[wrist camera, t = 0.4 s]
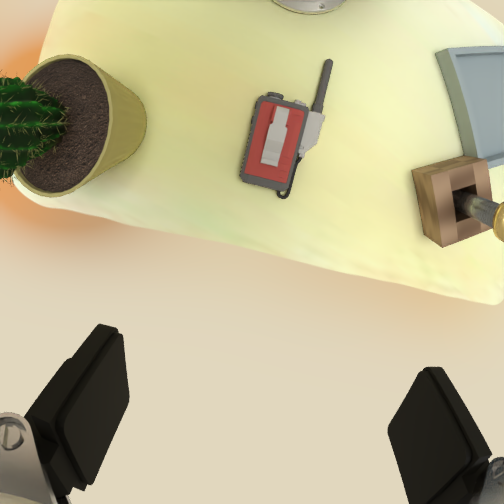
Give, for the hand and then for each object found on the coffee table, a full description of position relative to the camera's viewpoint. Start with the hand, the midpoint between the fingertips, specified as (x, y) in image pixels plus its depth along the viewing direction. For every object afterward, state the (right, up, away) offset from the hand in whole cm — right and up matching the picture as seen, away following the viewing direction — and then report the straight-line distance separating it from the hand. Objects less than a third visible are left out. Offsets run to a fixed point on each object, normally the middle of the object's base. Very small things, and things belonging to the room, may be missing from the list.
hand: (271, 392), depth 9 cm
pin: (+28, +12, +31) cm, 44 cm away
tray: (+37, +28, +26) cm, 54 cm away
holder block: (+28, +13, +32) cm, 45 cm away
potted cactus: (-21, +22, +31) cm, 44 cm away
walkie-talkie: (+4, +21, +31) cm, 38 cm away
